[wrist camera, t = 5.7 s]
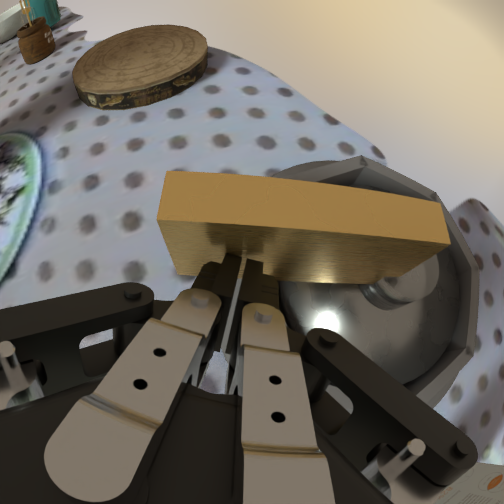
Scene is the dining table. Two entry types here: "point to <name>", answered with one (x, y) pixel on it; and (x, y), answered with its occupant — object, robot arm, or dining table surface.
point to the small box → (476, 486)
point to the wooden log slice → (140, 67)
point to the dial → (327, 257)
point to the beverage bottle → (44, 10)
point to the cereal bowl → (11, 22)
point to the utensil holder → (34, 37)
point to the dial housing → (463, 339)
